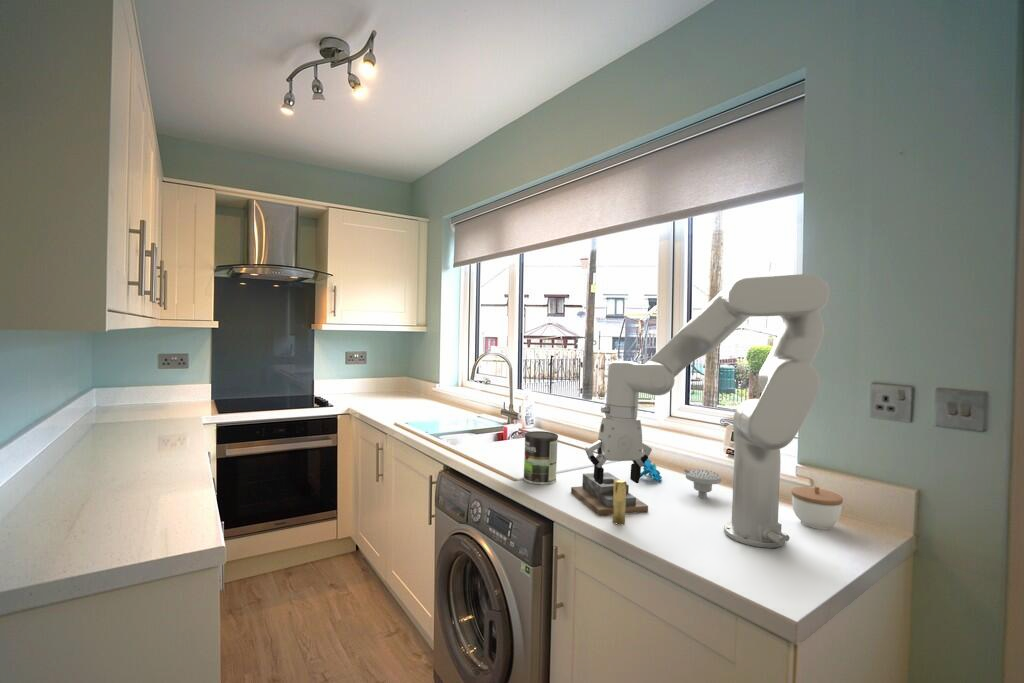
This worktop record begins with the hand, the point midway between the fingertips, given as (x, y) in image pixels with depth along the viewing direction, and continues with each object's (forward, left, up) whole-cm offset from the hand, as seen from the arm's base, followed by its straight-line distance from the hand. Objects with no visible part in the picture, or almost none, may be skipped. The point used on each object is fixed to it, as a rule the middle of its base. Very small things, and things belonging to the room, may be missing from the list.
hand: (616, 482), depth 119 cm
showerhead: (+13, -34, -10) cm, 37 cm away
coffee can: (+36, +7, -10) cm, 38 cm away
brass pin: (0, -1, -10) cm, 10 cm away
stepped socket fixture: (+14, -5, -10) cm, 17 cm away
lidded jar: (-11, -49, -10) cm, 51 cm away
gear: (+30, -27, -10) cm, 42 cm away
